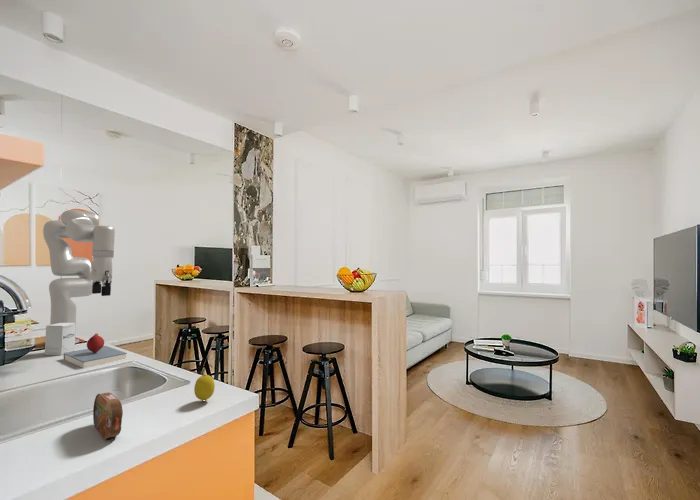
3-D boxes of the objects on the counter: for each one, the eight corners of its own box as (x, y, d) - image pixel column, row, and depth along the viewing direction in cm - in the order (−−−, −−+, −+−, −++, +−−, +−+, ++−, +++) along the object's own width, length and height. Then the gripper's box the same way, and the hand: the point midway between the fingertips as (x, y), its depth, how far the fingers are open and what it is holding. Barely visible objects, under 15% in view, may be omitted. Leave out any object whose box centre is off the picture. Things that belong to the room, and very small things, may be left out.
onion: (93, 355, 139) (93, 335, 139) (82, 353, 141) (83, 334, 141) (107, 351, 145) (107, 332, 145) (97, 350, 146) (98, 331, 146)
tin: (91, 423, 88) (92, 390, 88) (106, 419, 90) (107, 386, 90) (107, 445, 78) (109, 407, 78) (124, 440, 80) (125, 403, 80)
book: (63, 360, 142) (63, 352, 142) (105, 352, 154) (105, 345, 154) (83, 369, 131) (83, 361, 131) (126, 360, 143) (126, 352, 143)
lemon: (218, 399, 104) (218, 372, 104) (205, 406, 99) (205, 378, 99) (203, 396, 106) (204, 370, 106) (189, 403, 100) (190, 375, 101)
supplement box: (61, 355, 147) (62, 325, 148) (44, 355, 147) (45, 325, 148) (75, 350, 155) (76, 322, 155) (59, 350, 155) (60, 322, 155)
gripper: (84, 253, 150) (82, 293, 150) (101, 255, 140) (99, 297, 140) (104, 254, 156) (103, 292, 156) (121, 255, 146) (119, 295, 146)
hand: (101, 294), depth 148 cm, fingers open, 9 cm apart
